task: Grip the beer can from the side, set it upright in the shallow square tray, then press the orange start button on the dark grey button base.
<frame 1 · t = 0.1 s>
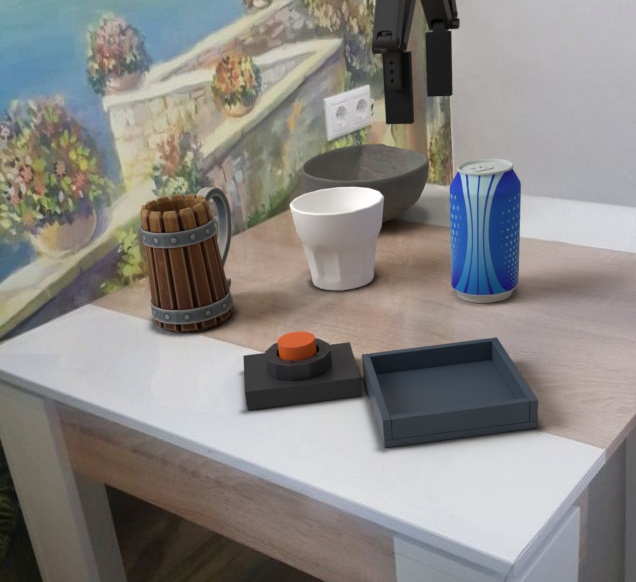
hand: (421, 109, 93), 25 cm above the table, tool pointing down, fingers open, 13 cm apart
beer can: (484, 294, 113), on the table
cup: (343, 280, 121), on the table
start button: (297, 346, 93), point 4 cm above the table, slide at 0.1 cm
mug: (205, 311, 117), on the table
shallow square tray: (444, 402, 89), on the table
dark grey button base: (301, 384, 95), on the table
bowl: (368, 222, 143), on the table
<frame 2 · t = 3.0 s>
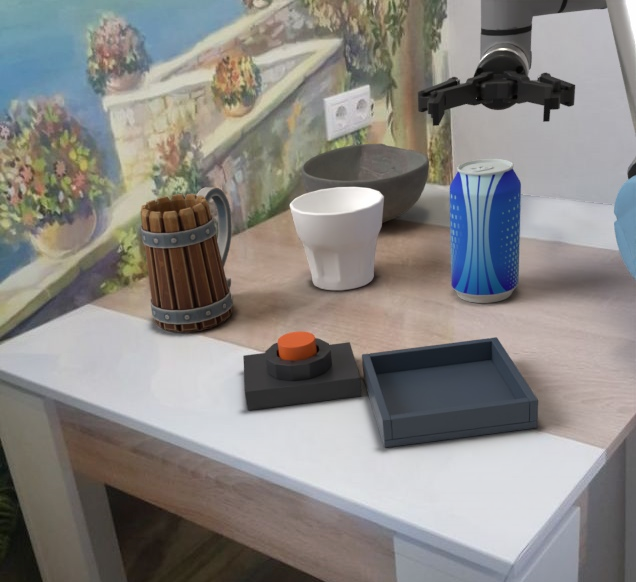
hand: (490, 112, 109), 20 cm above the table, tool horizontal, fingers open, 13 cm apart
nothing on the table moved.
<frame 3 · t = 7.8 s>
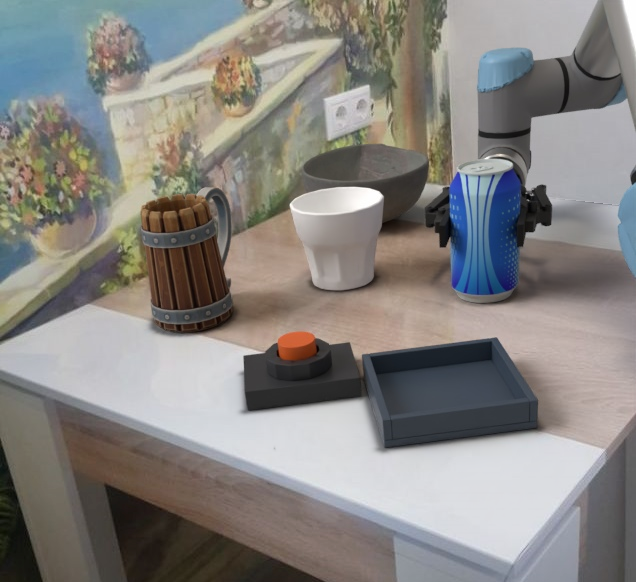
hand: (480, 236, 104), 9 cm above the table, tool horizontal, fingers closed on beer can, 8 cm apart
beer can: (484, 294, 113), on the table, touching gripper
everything else where it was.
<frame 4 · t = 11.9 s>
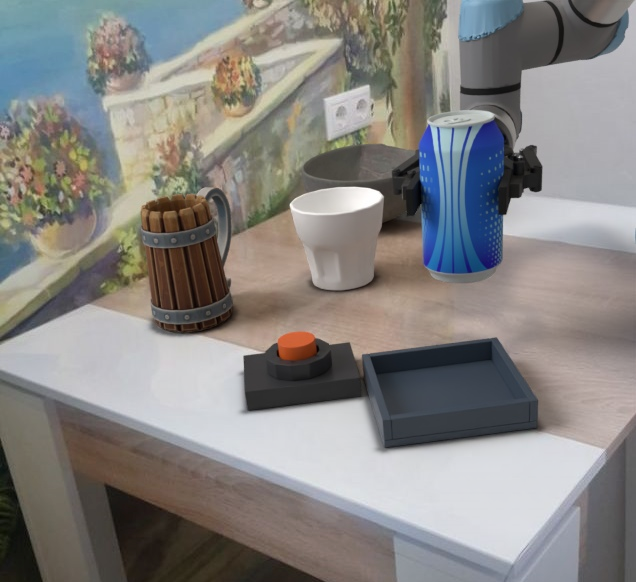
hand: (455, 201, 86), 18 cm above the table, tool horizontal, fingers closed on beer can, 8 cm apart
beer can: (462, 273, 95), point 9 cm above the table, touching gripper
everything else where it was.
when the fingers open (10 cm above the table, at t = 16.2 s): beer can stays where it is, resting on shallow square tray.
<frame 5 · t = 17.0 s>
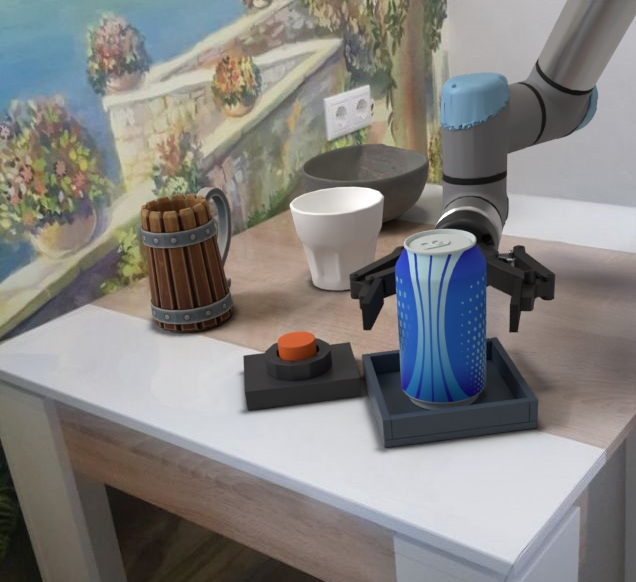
hand: (438, 318, 81), 11 cm above the table, tool horizontal, fingers open, 13 cm apart
beer can: (443, 396, 89), point 1 cm above the table, touching shallow square tray
everything else where it was.
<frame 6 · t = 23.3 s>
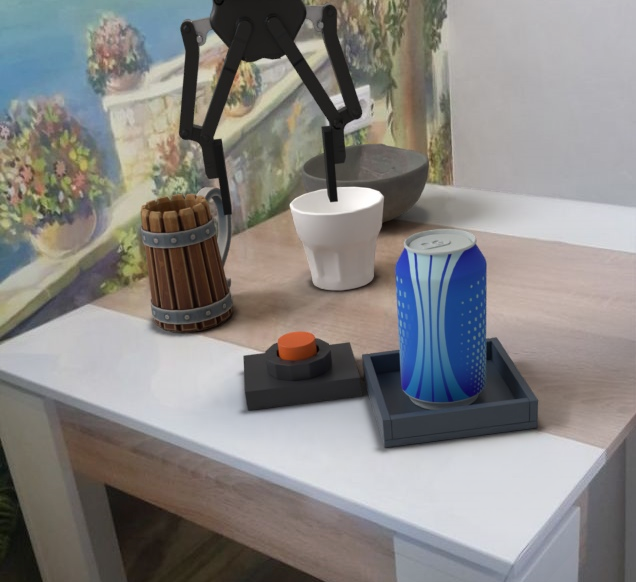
hand: (280, 204, 85), 20 cm above the table, tool pointing down, fingers open, 9 cm apart
nothing on the table moved.
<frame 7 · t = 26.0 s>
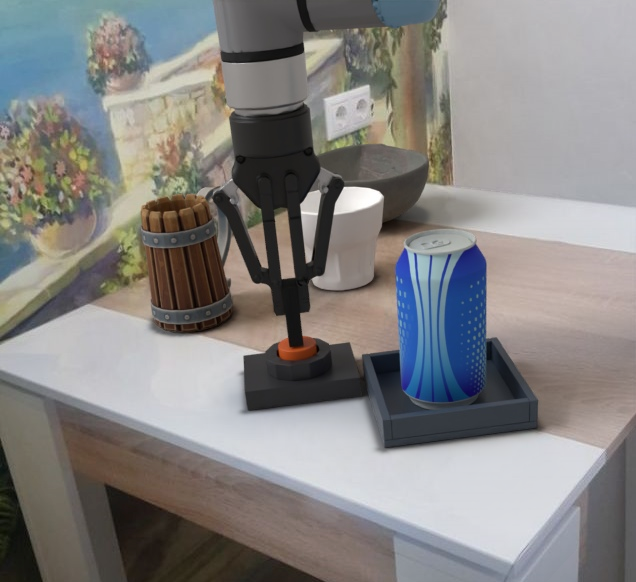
hand: (295, 341, 93), 5 cm above the table, tool pointing down, fingers closed
start button: (297, 350, 93), point 4 cm above the table, slide at -0.4 cm, touching gripper
everything else where it was.
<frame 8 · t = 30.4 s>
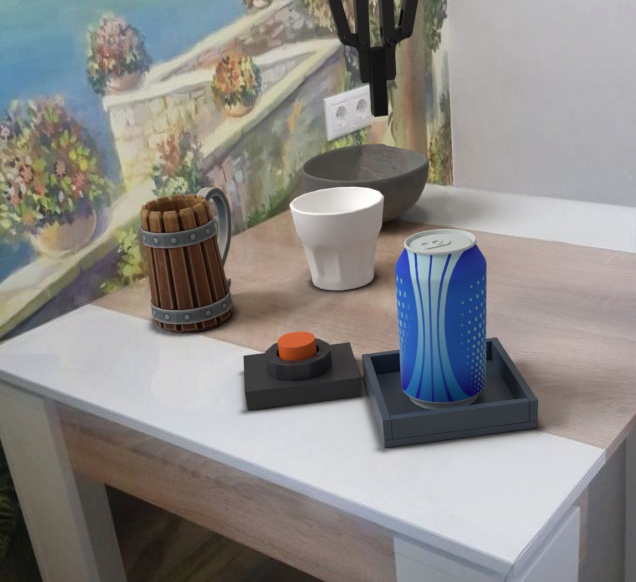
hand: (379, 113, 94), 24 cm above the table, tool pointing down, fingers closed
start button: (297, 346, 93), point 4 cm above the table, slide at 0.1 cm
everything else where it was.
at the end: beer can inside the target area in the shallow square tray (0.1 cm from its centre), point 0.6 cm above the shallow square tray's base; beer can tilted 0°; start button pushed in 1.0 cm at the most during the clip, back to where it started at the end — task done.
